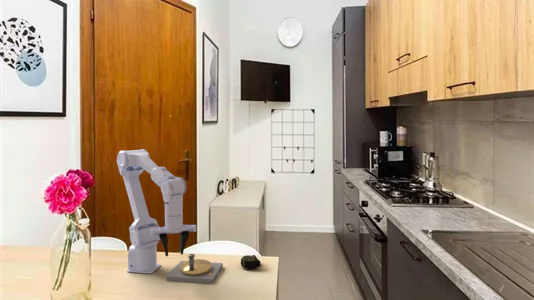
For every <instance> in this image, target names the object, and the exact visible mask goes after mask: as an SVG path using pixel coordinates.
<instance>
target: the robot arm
mask: <svg viewBox="0 0 534 300" xmlns="http://www.w3.org/2000/svg"><path fill="white" fill-rule="evenodd" d="M116 164H117V167H118V171H119V174H120V176H122V177H123V178H122V179H123V182H124V186H125V190H126V193H127V197H128V200H129V205H130V208H131V212H132V216H133V219H134V221H133V222H132V224H131V225H130V226H129V228H128V230H129V239H130V243H131V245H130V246H129V248H128V252H127V269H126V270H127V271H126V272H128V273H135V274H136V273H141V274H154V272H155V271H156V270H158V269H159V268H160V267H161V266H162V264H161V263H158V260H157V259H158V258H157V256H158V255H157V253H158V252H157V249H158V248H157V244H159V241H161V243H162V246H163V249H164V255H165V257H169V249H168V243H169V237H168V235H171V234H179V241H180V244H179V254H180V255H181V256H182V255H184V250H185V246H186V243H187V242H188V240H189V237H190V233H191V232H192V233H194V232H195V233H196V232H197V225H196V224H183V223H184V221H183V220H184V216H183V215H184V213H183V211H184V210H183V209H184V208H183V207H184V206H183V203H184V202H183V200H184V198H183V196H184V194H185V193H186V192H187V183H186V181H185V180H184V178H183V177H181V176H180V177H178V176H175V175H174V174H173V173H171V172H170V171H169V170H167V167H165V166H158V165H157V164H156V163H155V162H154V161H153V159H151V158H150V152H148V151H147V150H146V149H142V148H141V149H135V150H134V149H133V150H120V151H119V152H118V153H117V157H116ZM144 171H146V173H148V174H150V178H151V179H150V180H152V181H153V182H154V184H156V185H157V186H158V187H159V188H160V191H161V195H162V199H163V202H164V226H161V227H160V225H159V223H158V221H157V220H156V218H153V217H151V216H150V214H149V210H148V207H147V204H146V199H145V195H144V192H143V189H142V186H141V185H142V184H141V182H140V178H139V177H140V175H141V174H142V173H144Z"/></svg>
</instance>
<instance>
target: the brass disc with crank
mask: <svg viewBox="0 0 534 300" xmlns="http://www.w3.org/2000/svg"><path fill="white" fill-rule="evenodd" d="M187 258H188V260H184V261H185V262H183V263H182V264H181V265H180V272H181V273H182V274H184V275H188V276H199V275H203V274H206V273H208V272H210V271H211V269H212V264H211V263H212V261H210V260H206V259H203V258H200V259H197V258H196V256H195V253H194V254H193V253H190V254H188V255H187ZM195 258H196V259H195Z"/></svg>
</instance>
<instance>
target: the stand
mask: <svg viewBox="0 0 534 300" xmlns="http://www.w3.org/2000/svg"><path fill="white" fill-rule="evenodd" d="M185 261H186V260H180V261H179V263H178V264H177V265H175V266H174V268H173V269H171V271H170V272H169V273H168V274H167V275H166V277H165V280H166V281H170V282H183V283H196V284H197V283H198V284H208V285H210V284H211V285H213V284H214V282H215V280H216V278H218V275H219V274H220V272H221V271H222V269H223V267H224V264H223V263H222V262H211V264H212V269H211V271H210V272H208V273H206V274H203V275H199V276H188V275H184V274H182V273H181V272H180V265H181V264H182V263H183V262H185Z"/></svg>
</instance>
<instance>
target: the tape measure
mask: <svg viewBox="0 0 534 300" xmlns="http://www.w3.org/2000/svg"><path fill="white" fill-rule="evenodd" d="M261 265H262V263H261V260H259V258H258V257H257V256H256V255H255V254H253V255H247V254H246V255H244V256H242V257H241V259H240V266H241V267H242V268H243V269H245V270H255V269H258V268H259V269H260V267H261Z"/></svg>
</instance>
